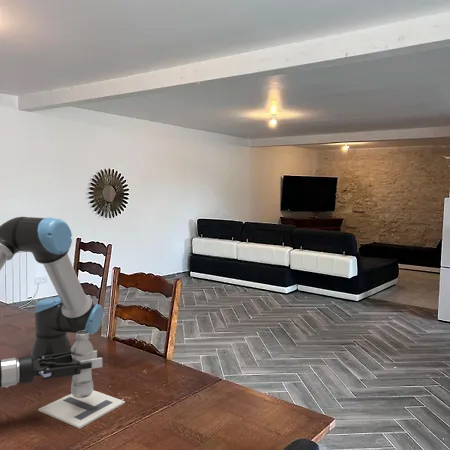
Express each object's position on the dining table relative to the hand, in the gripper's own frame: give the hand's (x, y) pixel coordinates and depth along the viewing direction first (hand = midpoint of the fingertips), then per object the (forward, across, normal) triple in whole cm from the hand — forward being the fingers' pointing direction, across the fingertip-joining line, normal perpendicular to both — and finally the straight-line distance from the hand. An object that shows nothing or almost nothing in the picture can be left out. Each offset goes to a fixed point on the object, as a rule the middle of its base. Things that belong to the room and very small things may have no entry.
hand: (99, 358), depth 138 cm
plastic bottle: (-5, 0, -11) cm, 12 cm away
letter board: (-5, 0, -15) cm, 15 cm away
